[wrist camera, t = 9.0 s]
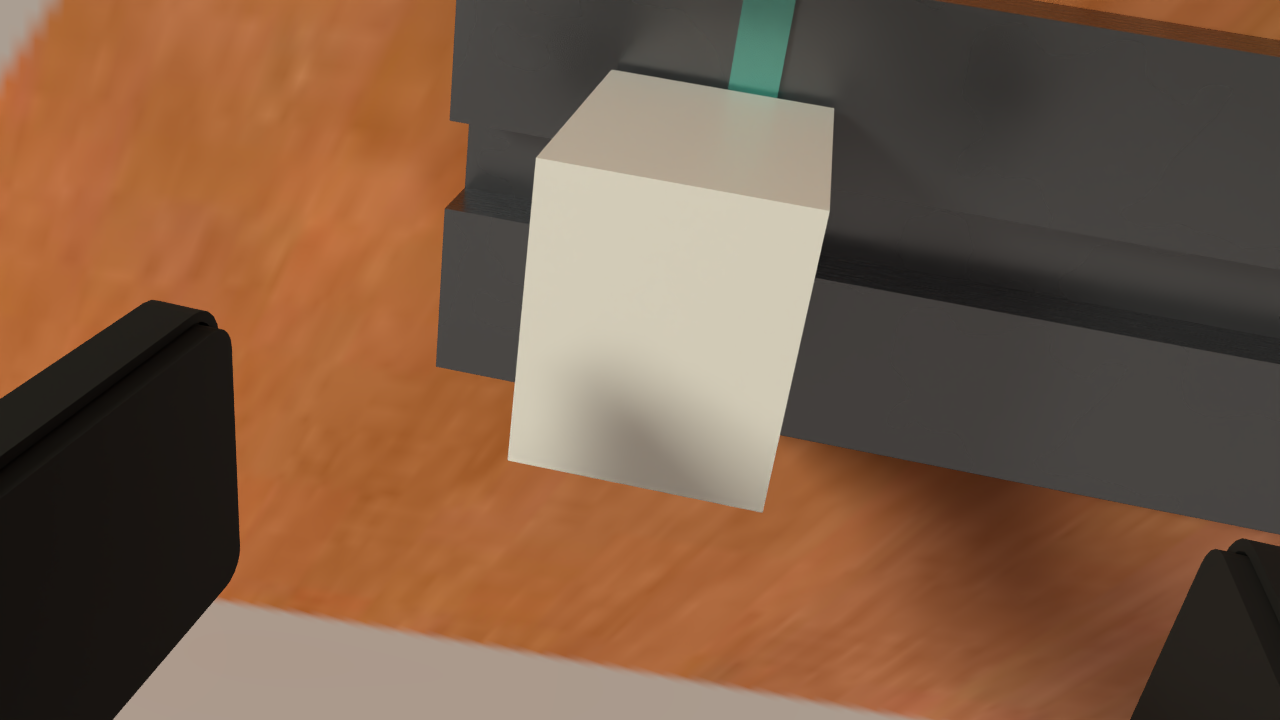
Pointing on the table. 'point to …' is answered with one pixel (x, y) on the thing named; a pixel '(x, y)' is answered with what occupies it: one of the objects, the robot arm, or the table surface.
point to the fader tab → (670, 286)
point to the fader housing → (954, 226)
